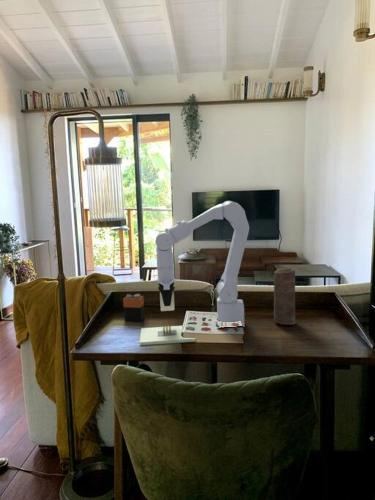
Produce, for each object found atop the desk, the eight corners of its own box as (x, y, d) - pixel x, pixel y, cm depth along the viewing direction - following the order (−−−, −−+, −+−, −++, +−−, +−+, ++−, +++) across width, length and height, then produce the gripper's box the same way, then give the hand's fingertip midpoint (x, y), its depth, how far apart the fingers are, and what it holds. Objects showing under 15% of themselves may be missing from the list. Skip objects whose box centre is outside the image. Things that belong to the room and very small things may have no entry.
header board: (192, 327, 138) (191, 318, 137) (195, 341, 126) (194, 330, 125) (141, 331, 137) (140, 321, 136) (139, 345, 125) (139, 334, 124)
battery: (141, 322, 145) (139, 296, 143) (124, 321, 147) (122, 296, 145) (145, 318, 149) (143, 293, 148) (128, 317, 151) (126, 292, 149)
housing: (174, 307, 139) (173, 291, 138) (174, 310, 136) (173, 293, 135) (160, 307, 139) (159, 291, 138) (160, 311, 136) (159, 294, 134)
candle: (286, 329, 133) (286, 272, 129) (269, 323, 139) (269, 269, 135) (299, 323, 138) (300, 268, 134) (282, 318, 143) (282, 265, 140)
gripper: (154, 262, 141) (156, 298, 144) (153, 272, 127) (155, 311, 130) (173, 261, 142) (175, 297, 144) (174, 270, 128) (176, 310, 130)
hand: (167, 303), depth 137 cm, fingers closed on housing, 3 cm apart
